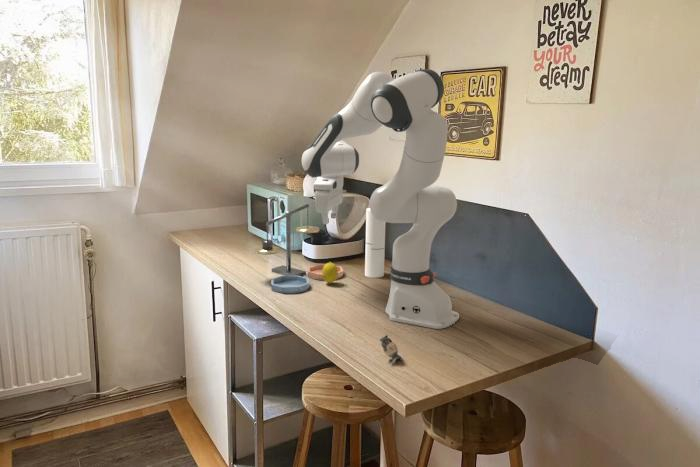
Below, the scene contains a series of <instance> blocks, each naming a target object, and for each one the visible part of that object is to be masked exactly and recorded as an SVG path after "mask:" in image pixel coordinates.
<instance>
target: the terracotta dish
mask: <svg viewBox="0 0 700 467" xmlns="http://www.w3.org/2000/svg"><path fill="white" fill-rule="evenodd" d="M326 264H327V263H325V264H324V263H322V264H315V265H312V266H308V267H307V269H306V270H307V271H306V273H307V278H308V277H309V278H310V279H312V280H318V281H325V280H324V279H323V276H322V270H323V267H324V265H326ZM336 267H337V270H338V276H337V279H336V280H338V279H340V278H342V277H343V275H344V269H343V267H342V266H340V265H336Z"/></svg>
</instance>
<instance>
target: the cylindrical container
mask: <svg viewBox="0 0 700 467" xmlns="http://www.w3.org/2000/svg"><path fill="white" fill-rule="evenodd" d="M365 210H366V212H365V215H366V216H365V252H364V253H365V255H364V256H365V258H364V276H365V277H367V278H372V279H373V278H375V279H378V278H379V279H380V278H383V277H384V274H385V255H386V254H385V253H386V252H385V250H386V243H385V242H386V223H387V222H383V221H378V220H376V219H375V218H374V217H373V215H372V213H371V211H370V207H368V208H366V209H365Z"/></svg>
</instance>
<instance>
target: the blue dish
mask: <svg viewBox="0 0 700 467" xmlns="http://www.w3.org/2000/svg"><path fill="white" fill-rule="evenodd" d="M309 288H310V280H309V278H308V277H303V276H286V275H281V276H277V277H274V278H272V279H270V289H271V290H272V291H274V293H275V292H276V293H280V294H287V295H288V294H300V293H303V292H307V290H309Z"/></svg>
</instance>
